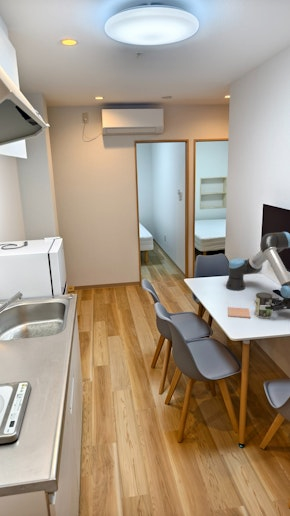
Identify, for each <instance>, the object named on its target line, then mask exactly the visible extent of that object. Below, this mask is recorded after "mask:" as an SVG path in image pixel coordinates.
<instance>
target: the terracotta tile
mask: <svg viewBox="0 0 290 516" xmlns="http://www.w3.org/2000/svg"><path fill="white" fill-rule="evenodd" d="M227 316H228V318H240V319H251V314H250V308H247V307H246V308H245V307H231V306H228V307H227Z"/></svg>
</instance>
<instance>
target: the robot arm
mask: <svg viewBox="0 0 290 516" xmlns="http://www.w3.org/2000/svg"><path fill="white" fill-rule="evenodd" d="M285 249H290V233H289V232H287V231H282V232H269V233H266V234H264V235H263V236H262V238H261V240H260V250H259V251H258V252H257V253H256V254H255V255H251V256H250V257H249V258H248V259H245V258H241V257H239V258H238V257H237V258H232V259H231V260H230V261H229V263H228V264H229V265H228V279H227V281H226V284H225V287H226V288H225V289H228V290H231V291H243V290H245V289H246V284H245V280H244V278H245V277H244V276H245V275H250V274H258V273H260V272H261V271H262V270H263V264H264V263H265V262H267V261H268V263H269V264H270V267H271V268H272V271H273V273H274V274H275V276H276V278H277V280H278V282H279V284H280V288H279V289H280V290H279V292H280V295H281V297H283V299H280V297H279V298H278V297H272V305H271V306H270V305H260V310H265V309H271V311H273V312H275V311H276V312H277V311H281V310H290V274H289V273H288V271H287V268H286V266H285V265H284V263H283V261H282V259H281V257H280V255H279V254H278V253H281V252H282V251H283V250H285ZM253 302H254V304H256V298H255V299H254V300H253Z"/></svg>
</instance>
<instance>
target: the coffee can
mask: <svg viewBox="0 0 290 516" xmlns="http://www.w3.org/2000/svg"><path fill="white" fill-rule="evenodd" d="M272 298H274V297H273V294H271V293H268V292H264V291H263V292H257V293H256V294H255V299H256V303H255V306H254V316H256V317H258V318H261V319H268V318H271V317H272V310H271V309H265V310H260V305H270V306H271V305H273V304H272Z"/></svg>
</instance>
